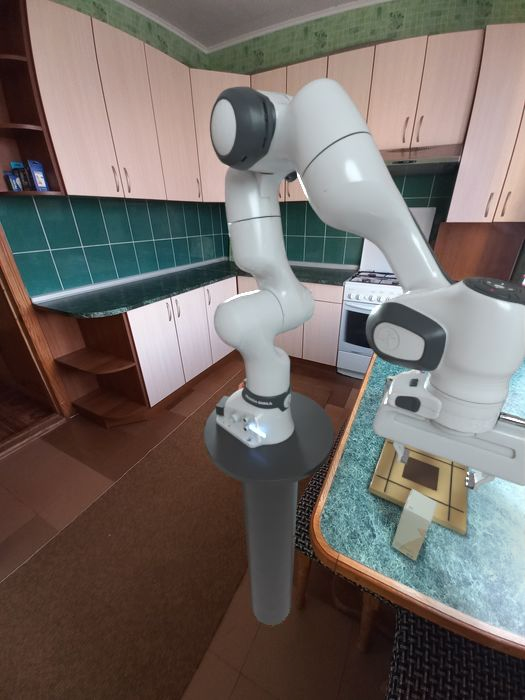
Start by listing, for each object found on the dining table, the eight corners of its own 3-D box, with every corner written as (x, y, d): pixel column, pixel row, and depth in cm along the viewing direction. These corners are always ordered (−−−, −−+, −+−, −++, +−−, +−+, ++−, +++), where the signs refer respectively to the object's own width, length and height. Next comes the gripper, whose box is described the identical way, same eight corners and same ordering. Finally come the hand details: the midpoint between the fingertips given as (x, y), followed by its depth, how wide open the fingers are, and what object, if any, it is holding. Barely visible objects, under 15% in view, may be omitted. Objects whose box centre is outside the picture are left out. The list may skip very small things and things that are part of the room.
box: (415, 562, 52) (430, 524, 47) (390, 545, 54) (402, 508, 49) (423, 538, 55) (438, 501, 50) (400, 524, 58) (412, 487, 53)
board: (368, 491, 64) (369, 486, 63) (387, 435, 79) (388, 431, 78) (464, 535, 56) (466, 530, 55) (465, 463, 70) (467, 458, 70)
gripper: (556, 413, 37) (516, 487, 43) (386, 371, 47) (373, 436, 53) (569, 445, 32) (521, 523, 38) (376, 391, 42) (364, 460, 48)
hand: (434, 472), depth 46 cm, fingers open, 8 cm apart
